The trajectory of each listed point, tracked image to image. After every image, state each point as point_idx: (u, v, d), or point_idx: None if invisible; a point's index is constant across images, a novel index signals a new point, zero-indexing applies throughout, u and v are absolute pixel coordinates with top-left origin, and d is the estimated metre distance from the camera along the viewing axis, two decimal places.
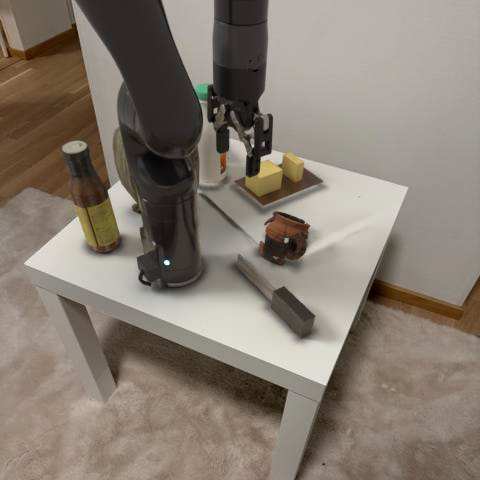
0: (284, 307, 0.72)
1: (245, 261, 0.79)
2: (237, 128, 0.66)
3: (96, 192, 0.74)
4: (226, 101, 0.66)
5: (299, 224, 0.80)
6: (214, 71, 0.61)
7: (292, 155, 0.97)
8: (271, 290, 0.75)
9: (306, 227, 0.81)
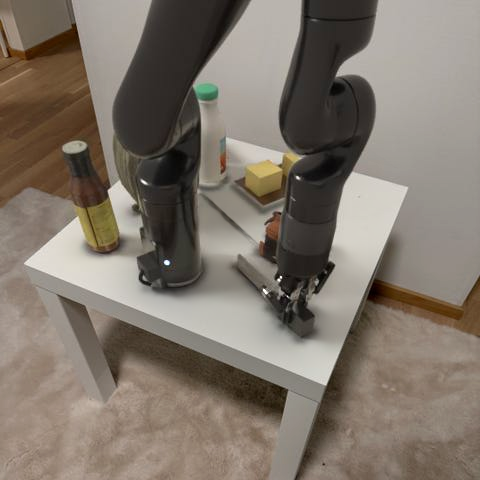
0: None
1: (245, 261, 0.79)
2: None
3: (96, 192, 0.74)
4: None
5: None
6: None
7: (292, 155, 0.97)
8: None
9: None
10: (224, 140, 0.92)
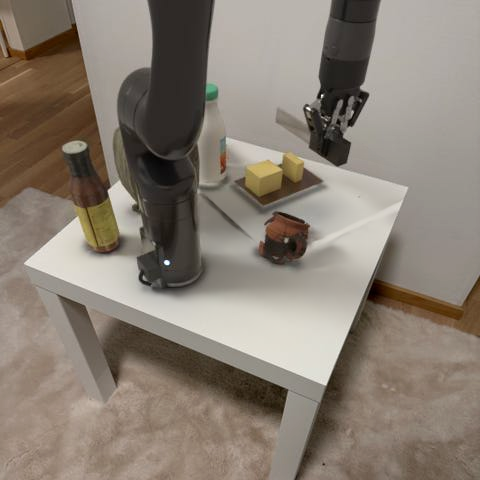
0: None
1: (284, 111, 0.87)
2: None
3: (96, 192, 0.74)
4: None
5: (299, 224, 0.80)
6: None
7: (292, 155, 0.97)
8: None
9: (306, 227, 0.81)
10: (224, 140, 0.92)
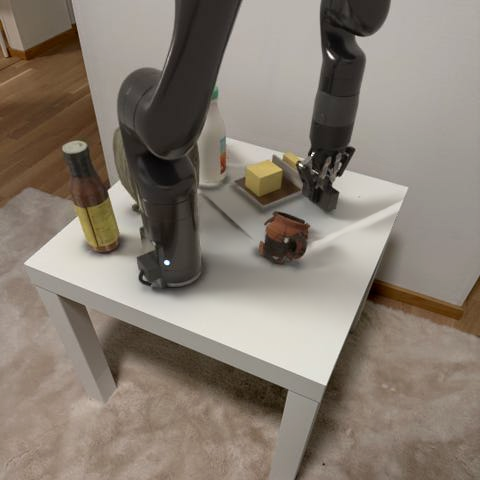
0: None
1: (279, 159, 0.96)
2: None
3: (96, 192, 0.74)
4: None
5: (299, 224, 0.80)
6: None
7: (292, 155, 0.97)
8: None
9: (306, 227, 0.81)
10: (224, 140, 0.92)
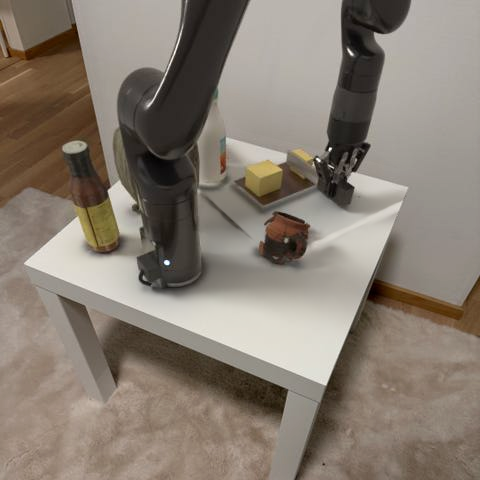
0: None
1: (294, 155, 0.97)
2: None
3: (96, 192, 0.74)
4: None
5: (299, 224, 0.80)
6: None
7: (301, 152, 0.98)
8: None
9: (306, 227, 0.81)
10: (224, 140, 0.92)
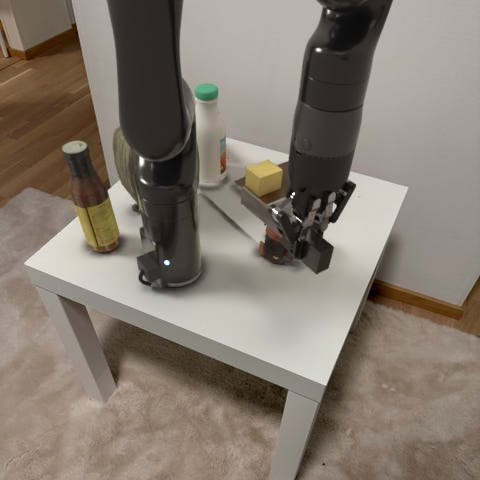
0: None
1: (250, 193, 0.69)
2: None
3: (96, 192, 0.74)
4: None
5: None
6: None
7: None
8: None
9: None
10: (224, 140, 0.92)
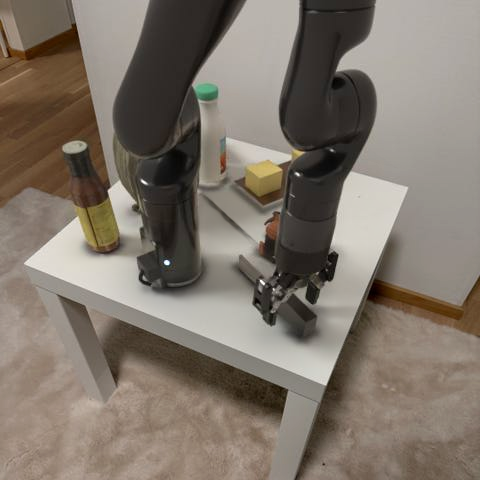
0: (286, 307, 0.71)
1: (247, 261, 0.79)
2: None
3: (96, 192, 0.74)
4: None
5: None
6: None
7: (301, 152, 0.98)
8: None
9: None
10: (224, 140, 0.92)
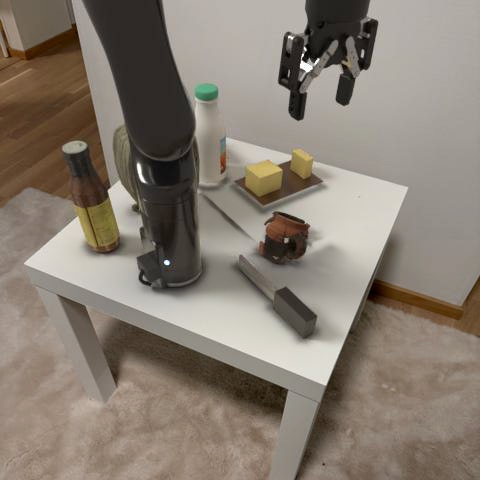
0: (286, 307, 0.71)
1: (247, 261, 0.79)
2: (307, 52, 0.57)
3: (96, 192, 0.74)
4: None
5: (299, 224, 0.80)
6: None
7: (301, 152, 0.98)
8: (273, 290, 0.75)
9: (306, 227, 0.81)
10: (224, 140, 0.92)
